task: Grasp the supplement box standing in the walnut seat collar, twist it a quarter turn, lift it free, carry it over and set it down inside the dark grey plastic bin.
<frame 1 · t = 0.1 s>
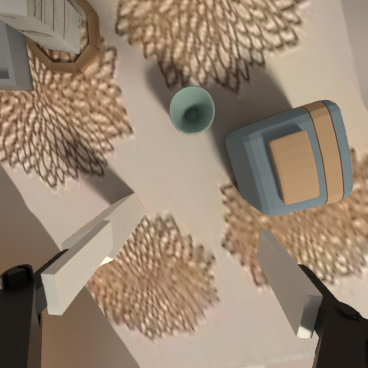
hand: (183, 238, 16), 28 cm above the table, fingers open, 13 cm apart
seat collar: (64, 33, 37), on the table
supplement box: (65, 33, 38), resting in seat collar
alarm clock: (265, 156, 41), on the table
cup: (193, 117, 40), on the table
milk: (131, 206, 46), on the table
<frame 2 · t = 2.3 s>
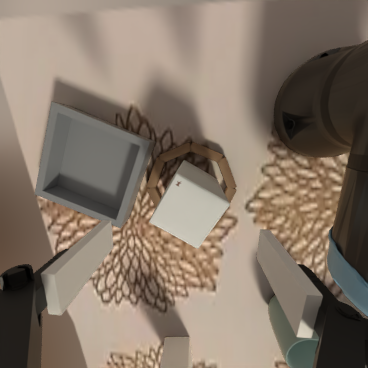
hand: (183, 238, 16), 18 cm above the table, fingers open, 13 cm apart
bin: (101, 166, 34), on the table
seat collar: (191, 186, 33), on the table
supplement box: (191, 185, 33), resting in seat collar
cup: (281, 300, 38), on the table
milk: (178, 344, 43), on the table
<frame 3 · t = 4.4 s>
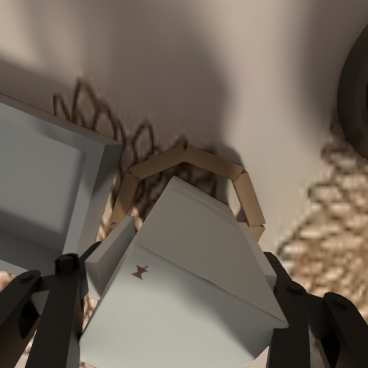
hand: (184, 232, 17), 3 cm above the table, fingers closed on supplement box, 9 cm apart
bin: (36, 184, 20), on the table
seat collar: (186, 218, 20), on the table
supplement box: (186, 217, 20), resting in seat collar, touching gripper
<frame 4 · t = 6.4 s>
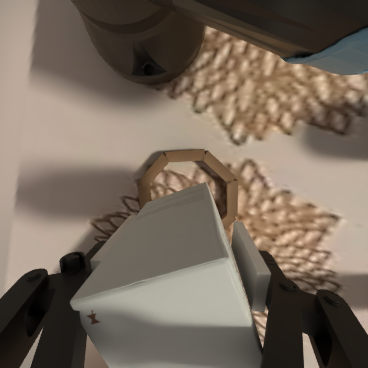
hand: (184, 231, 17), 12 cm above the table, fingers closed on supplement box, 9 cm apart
seat collar: (187, 197, 29), on the table
supplement box: (187, 220, 20), point 9 cm above the table, touching gripper
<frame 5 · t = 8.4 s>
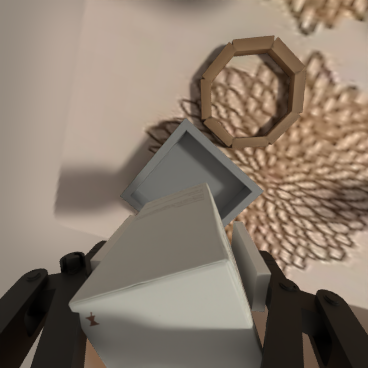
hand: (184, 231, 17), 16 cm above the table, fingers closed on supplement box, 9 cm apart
bin: (190, 187, 32), on the table
seat collar: (248, 98, 28), on the table
supplement box: (187, 220, 20), point 13 cm above the table, touching gripper
when the fingers open (4 cm above the table, at t = 11.2 s): supplement box stays where it is, resting on bin.
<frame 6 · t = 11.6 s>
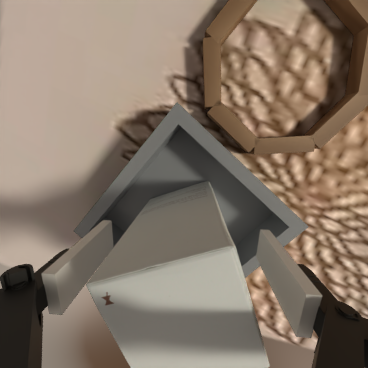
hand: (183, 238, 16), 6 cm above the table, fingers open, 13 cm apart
bin: (186, 212, 21), on the table
seat collar: (282, 72, 17), on the table
supplement box: (189, 217, 21), resting on bin
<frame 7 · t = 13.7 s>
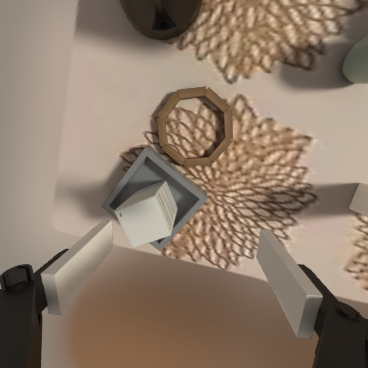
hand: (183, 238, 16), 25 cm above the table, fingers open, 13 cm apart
bin: (157, 197, 41), on the table
seat collar: (194, 129, 37), on the table
supplement box: (158, 198, 41), resting on bin
cup: (355, 66, 33), on the table
milk: (366, 198, 39), on the table
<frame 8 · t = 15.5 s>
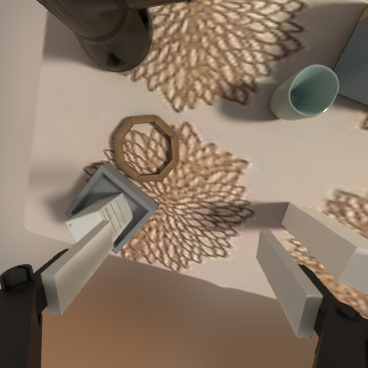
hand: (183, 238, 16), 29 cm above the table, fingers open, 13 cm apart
bin: (116, 206, 47), on the table
seat collar: (147, 149, 43), on the table
supplement box: (117, 208, 47), resting on bin
cup: (283, 103, 39), on the table
milk: (296, 215, 44), on the table
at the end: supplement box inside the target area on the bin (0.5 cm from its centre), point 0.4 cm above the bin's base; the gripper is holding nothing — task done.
